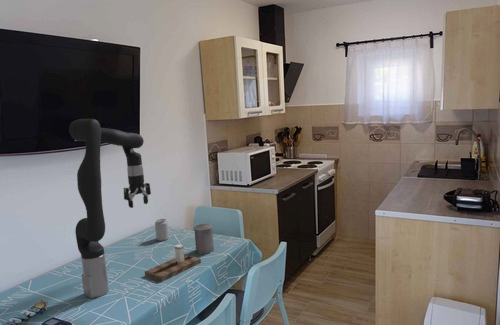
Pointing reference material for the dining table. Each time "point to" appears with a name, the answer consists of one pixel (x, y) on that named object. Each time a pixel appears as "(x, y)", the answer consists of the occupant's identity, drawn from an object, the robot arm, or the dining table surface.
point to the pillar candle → (204, 238)
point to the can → (161, 229)
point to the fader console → (171, 268)
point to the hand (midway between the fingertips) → (138, 205)
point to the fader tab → (179, 253)
